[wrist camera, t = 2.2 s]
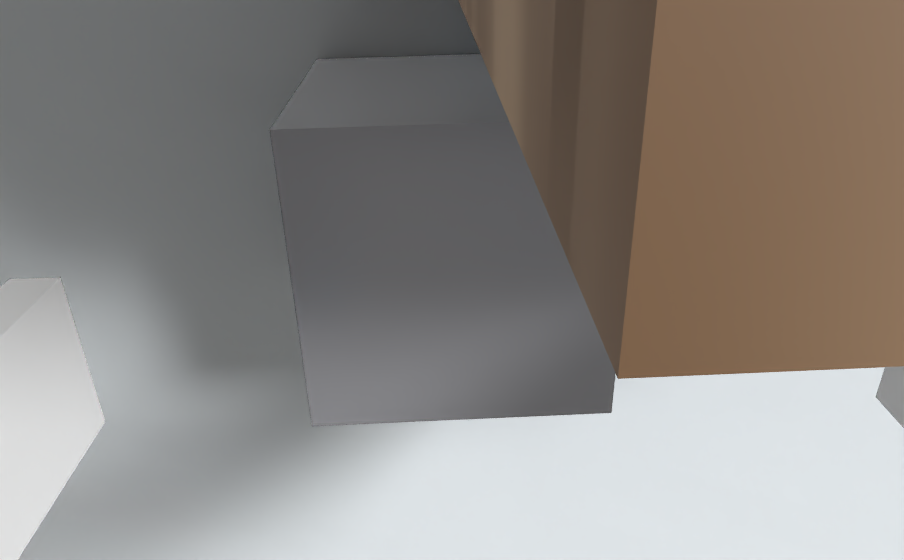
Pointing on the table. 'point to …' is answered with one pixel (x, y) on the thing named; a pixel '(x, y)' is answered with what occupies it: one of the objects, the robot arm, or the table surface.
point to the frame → (716, 172)
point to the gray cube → (426, 252)
